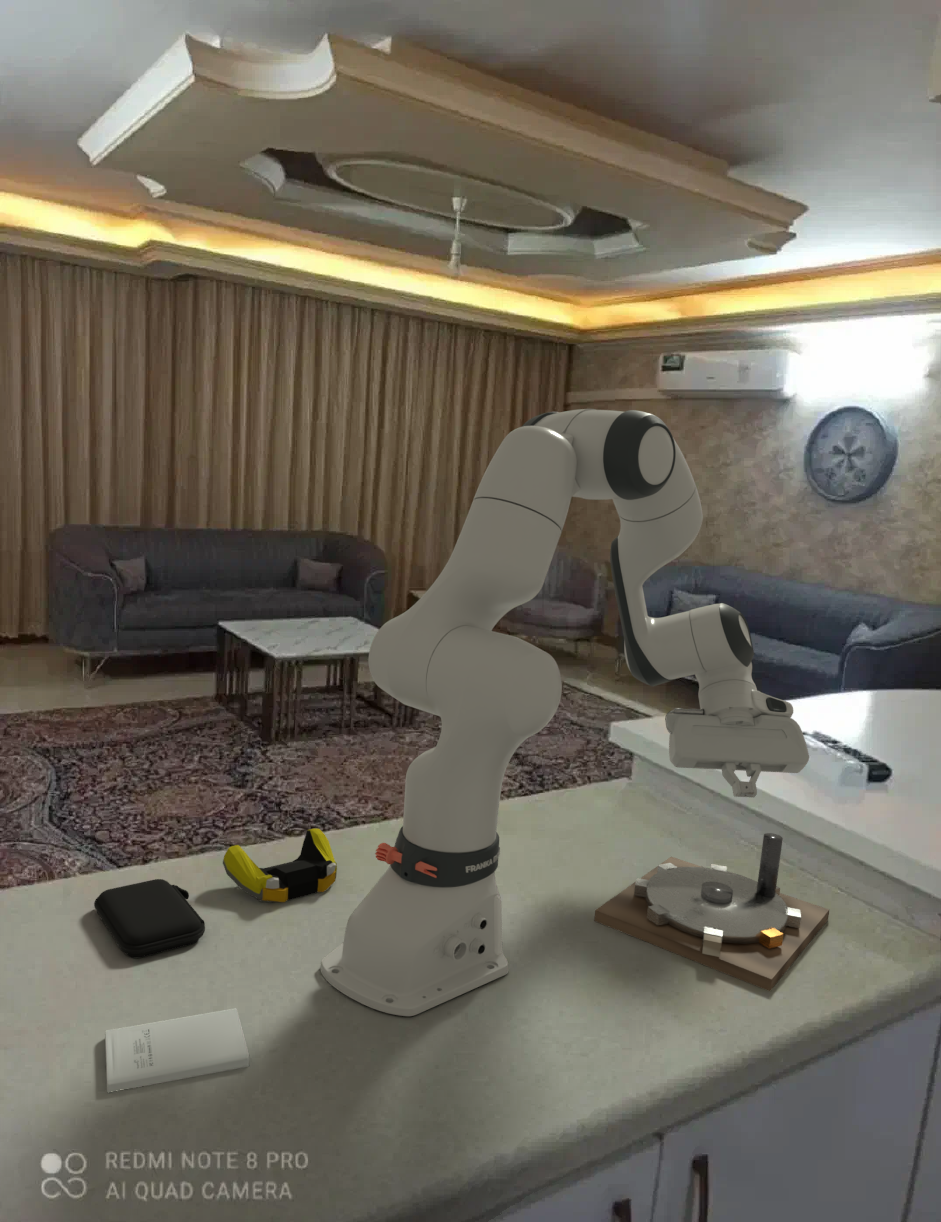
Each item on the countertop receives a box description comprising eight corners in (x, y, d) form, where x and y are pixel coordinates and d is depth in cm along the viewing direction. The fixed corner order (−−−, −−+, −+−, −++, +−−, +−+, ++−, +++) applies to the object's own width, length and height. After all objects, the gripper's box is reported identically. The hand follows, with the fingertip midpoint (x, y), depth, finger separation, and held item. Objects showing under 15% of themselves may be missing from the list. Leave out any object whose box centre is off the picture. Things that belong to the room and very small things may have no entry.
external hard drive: (249, 1071, 86) (106, 1098, 81) (236, 1020, 93) (104, 1042, 88) (249, 1056, 85) (107, 1082, 80) (236, 1005, 93) (104, 1027, 88)
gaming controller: (217, 883, 121) (250, 915, 113) (218, 844, 120) (251, 874, 112) (317, 859, 130) (354, 887, 123) (319, 822, 129) (356, 849, 122)
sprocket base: (769, 992, 104) (772, 965, 104) (593, 921, 118) (595, 897, 117) (828, 919, 123) (831, 897, 122) (670, 865, 136) (672, 845, 136)
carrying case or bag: (219, 943, 107) (176, 891, 118) (219, 919, 106) (176, 869, 118) (125, 968, 100) (90, 911, 112) (126, 942, 100) (90, 887, 112)
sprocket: (764, 968, 106) (775, 891, 104) (608, 907, 118) (615, 838, 116) (817, 907, 122) (826, 840, 121) (675, 859, 134) (682, 798, 133)
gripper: (669, 697, 136) (680, 783, 128) (802, 704, 137) (822, 789, 129) (658, 717, 141) (668, 801, 133) (787, 724, 142) (805, 807, 134)
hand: (745, 795), depth 131 cm, fingers closed
